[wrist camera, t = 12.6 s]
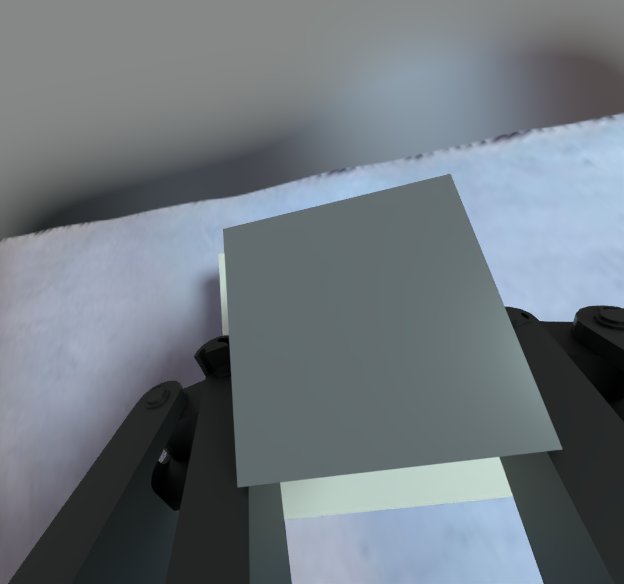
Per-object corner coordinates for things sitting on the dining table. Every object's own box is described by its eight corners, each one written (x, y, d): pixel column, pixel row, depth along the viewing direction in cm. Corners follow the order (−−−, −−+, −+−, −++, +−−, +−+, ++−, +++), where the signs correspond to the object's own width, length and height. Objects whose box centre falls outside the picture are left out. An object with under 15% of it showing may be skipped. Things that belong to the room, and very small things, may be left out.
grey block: (324, 397, 16) (237, 487, 4) (311, 319, 17) (222, 229, 6) (405, 385, 15) (562, 449, 4) (385, 305, 16) (450, 173, 5)
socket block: (259, 489, 17) (232, 525, 13) (242, 273, 22) (218, 254, 18) (508, 460, 15) (559, 491, 11) (430, 232, 20) (448, 201, 16)
